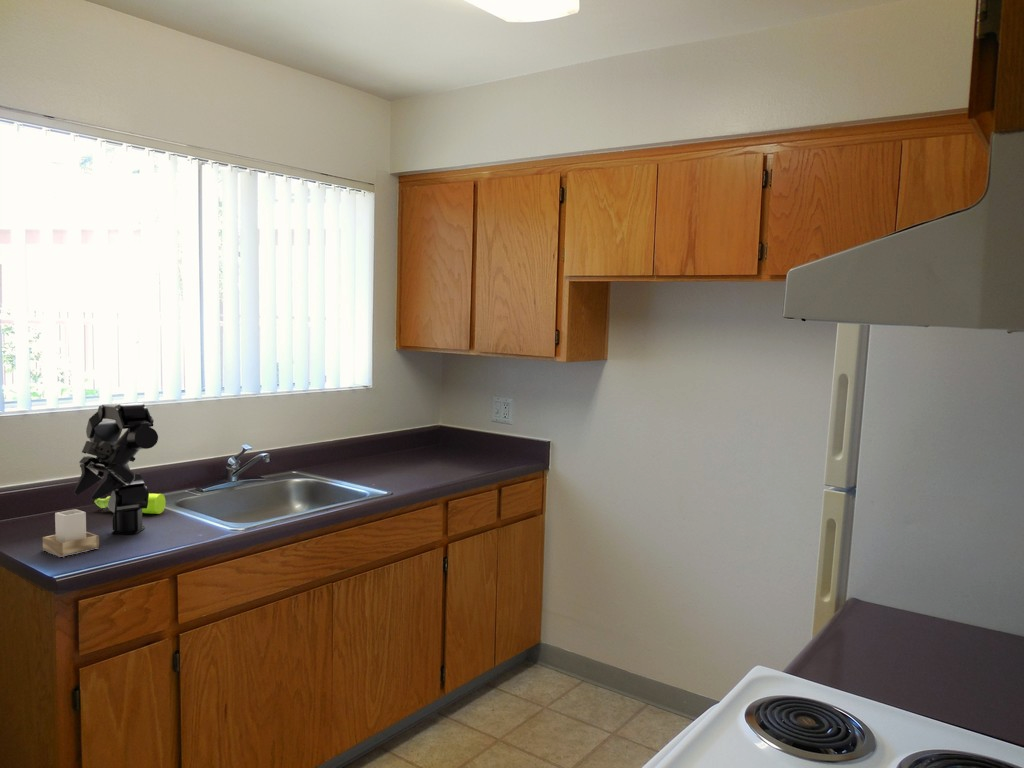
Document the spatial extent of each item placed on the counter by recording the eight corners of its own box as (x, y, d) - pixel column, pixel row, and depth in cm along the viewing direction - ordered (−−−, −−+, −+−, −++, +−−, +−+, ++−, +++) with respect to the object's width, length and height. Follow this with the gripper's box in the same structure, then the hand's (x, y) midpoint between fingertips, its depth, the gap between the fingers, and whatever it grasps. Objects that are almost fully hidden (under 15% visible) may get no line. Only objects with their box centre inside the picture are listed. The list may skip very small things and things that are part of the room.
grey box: (76, 543, 193) (75, 509, 193) (86, 547, 190) (85, 512, 190) (56, 548, 189) (54, 512, 188) (65, 551, 186) (64, 516, 186)
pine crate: (81, 542, 196) (80, 529, 196) (99, 549, 191) (98, 535, 191) (42, 551, 189) (42, 537, 188) (60, 558, 183) (59, 544, 183)
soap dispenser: (169, 500, 232) (107, 498, 233) (159, 490, 226) (95, 488, 228) (162, 518, 228) (100, 515, 230) (152, 508, 223) (88, 506, 224)
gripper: (85, 425, 200) (41, 473, 192) (121, 432, 189) (76, 482, 181) (116, 451, 207) (75, 498, 199) (152, 459, 196) (110, 509, 188)
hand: (83, 496), depth 192 cm, fingers open, 9 cm apart
